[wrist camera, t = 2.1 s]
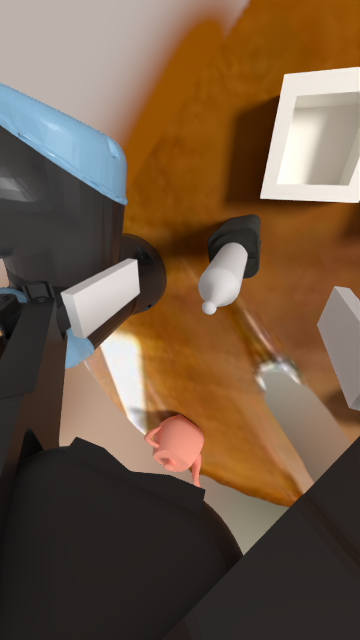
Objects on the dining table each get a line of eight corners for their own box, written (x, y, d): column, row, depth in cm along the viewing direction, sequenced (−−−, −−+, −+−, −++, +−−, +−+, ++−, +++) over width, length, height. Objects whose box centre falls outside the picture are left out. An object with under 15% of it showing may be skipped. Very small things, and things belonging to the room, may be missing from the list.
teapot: (196, 451, 68) (185, 495, 58) (148, 414, 66) (128, 453, 57) (224, 440, 60) (217, 489, 51) (170, 398, 59) (152, 440, 49)
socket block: (260, 197, 29) (259, 198, 25) (281, 93, 24) (284, 74, 20) (344, 200, 26) (358, 202, 22) (388, 85, 21) (417, 61, 17)
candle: (224, 219, 32) (157, 271, 12) (260, 213, 30) (253, 261, 10) (227, 253, 34) (175, 345, 14) (260, 249, 32) (256, 348, 12)
